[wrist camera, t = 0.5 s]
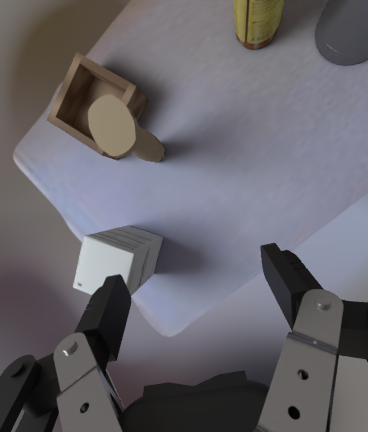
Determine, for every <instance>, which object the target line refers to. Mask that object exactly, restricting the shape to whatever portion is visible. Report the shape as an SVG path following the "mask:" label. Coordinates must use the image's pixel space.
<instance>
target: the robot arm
mask: <svg viewBox="0 0 368 432" xmlns="http://www.w3.org/2000/svg"><path fill="white" fill-rule="evenodd" d="M315 41H316V45H317V48H318V50H319V52H320V54H321V55H322V56H323V57H324V58H325V59H327V60H328V61H330V62H332V63H335V64H338V65H354V64H357V63H361V62H363V61H365V60H367V59H368V0H329V1H328V3H327V5H326V7H325V9H324V11H323V13H322V15H321V17H320V19H319V22H318V24H317V27H316V32H315ZM260 248H261V258H262V267H263V272H264V275H265V278H266V280H267V282H268V284H269V286H270V288H271V290H272V292H273V294H274V296H275V298H276V300H277V302H278V304H279V306H280V308H281V310H282V312H283V314H284V316H285V318H286V320H287V322H288V324H289V326H290V328H291V330H292V333H291V332H289V333H288V335H287V337H286V340H285V343H284V346H283V349H282V352H281V355H280V358H279V361H278V365H277V368H276V370H275V373H274V377H273V380H272V383H271V386H270V387H269V386H267V385H265V384H263V383H261V382H258V381H254V380H249V379H247V378H246V374H245V371H238V372H232V373H227V374H220V375H217V376H215V377H213V378H211V379H209V380H207V381H204V382H202V383H200V384H198V385H196V386H188V385H181V384H175V383H162V384H156V385H149V386H145V387H144V392H143V396H142V397H140V398H139V399H137V400H135V401H134V402H133V403H132V404H130V405H129V406H128V407H127V408H126V409H125V408H124V406H123V404H122V402H121V400H120V398H119V396H118V393H117V391H116V390H115V387H114V385H113V382H112V380H111V378H110V376H109V374H108V372H107V370H106V367H107V363H108V362H111V361H116V360H117V357H118V353H119V349H120V345H121V341H122V337H123V334H124V330H125V326H126V322H127V318H128V314H129V310H130V306H131V295H130V292H129V290H128V288H127V286H126V283H125V281H124V279H123V277H122V275H121V274H117V275H112V276H107V277H106V279H105V281H104V283H103V285H102V287H99V288H98V289H97V290H96V291H95V292H94V293H93V295H92V297H91V299H90V301H89V304H88V305H87V307H86V310H85V311H84V314H83V315H82V318H81V320H80V322H79V324H78V326H77V328H76V330H75V332H74V334H72V335H70V336H68V337H66V338H65V339H64V340H63V341H62V342H61V343H60V344H59V345H58V346H57V348H56V349H55V352H54V353H52V354H50V355H48V356H46V357H44V358H42V359H39V360H36V359H35V357H34V356H33V355H25V356H22V357H20V358H18V359H17V360H15V361H14V362H13V363H11V364H10V365H9V366H8V367H7V368H6V369H5V371H4V372H3V373H2V375H1V376H0V432H11V430H12V428H13V426H14V424H15V422H16V420H17V418H18V416H19V414H20V412H21V410H22V409H23V410H24V411H25V412H24V415H23V417H22V419H21V421H20V423H19V425H18V427H17V429H16V431H15V432H52V430H53V428H54V425H55V422H56V419H57V416H58V414H60V419H61V425H62V429H63V432H329V431H330V423H331V415H332V406H333V397H334V389H335V382H336V374H337V366H338V359H339V355H342V356H348V357H355V358H362V359H366V360H367V362H368V303H367V302H366V303H365V302H353V301H345V300H341V299H340V298H339V297H338V296H337V295H335V294H334V293H332V292H330V291H326V290H324V289H323V288H322V287H321V285H320V284H319V283H318V282H317V280H316V279H315V278H314V277H313V276H312V274H311V273H310V272H309V271H308V269H307V268H306V267H305V265H304V264H303V263H302V262H301V260H300V259H299V258H298V257H297V256H296V255H295V254H294V253H292V252H290V251H288V250H285V251H281V250H280V249H279V247H278V246H277V245H276V243H271V244H266V245H261V247H260Z"/></svg>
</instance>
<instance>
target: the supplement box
mask: <svg viewBox="0 0 368 432" xmlns="http://www.w3.org/2000/svg"><path fill="white" fill-rule="evenodd" d="M162 241H163V237H162V236H159V235H156V234H153V233H149V232H146V231H143V230H140V229H137V228H134V227H131V226H123V227H119V228H115V229H111V230H107V231H103V232H99V233H95V234H90V235H85V236H84V238H83V243H82V248H81V252H80V257H79V261H78V266H77V271H76V275H75V280H74V284H73V288H76V289H78V290H81V291H84V292H86V293H88V294H91V295H93V293H94V292H95V291H96V290H97V289H98V288H99V287H102V285H103V283H104V281H105V279H106V277H107V276H112V275H117V274H121V275H122V277H123V279H124V281H125V283H126V286H127V288H128V290H129V292H130V295H131V296H132V295H133V294H134V293H135V292H136V291H137V290H138V289H139V288H140V287H141V286H142V285H143V284H144V283H145V282H146V281H147V280H148V279H149V278H150V277H151V276H152V275H153V274H154V271H155V266H156V262H157V258H158V255H159V251H160V248H161V244H162Z"/></svg>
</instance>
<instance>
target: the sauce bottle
mask: <svg viewBox="0 0 368 432" xmlns="http://www.w3.org/2000/svg"><path fill="white" fill-rule="evenodd" d="M284 2H285V0H234V15H235V30H236V37H237V39H238V41H239V42H240V43H241V44H242V45H243V46H244V47H245V48H247V49H258V48H262V47H264V46H266V45H267V44H268V43H269V42H270V41H271V40H272V39H273V37H274V36H275V34H276V32H277V29H278V26H279V24H280V20H281V16H282V11H283V7H284Z"/></svg>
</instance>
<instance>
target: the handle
mask: <svg viewBox="0 0 368 432" xmlns="http://www.w3.org/2000/svg"><path fill="white" fill-rule="evenodd" d="M88 121H89V128H90V131H91V134H92V136H93V138H94V140H95V141H96V143H97V145H98V146H99V147H100V148H101V149H102V150H104V151H105V152H106V153H108V154H109V155H110V156H113V157H117V158H120V157H125V156H127V155H129V154H131V153H132V154H133V155H135V156H137V157H138V158H140V159H143V160H145V161H150V162H155V163H157V162H159V161H160V160H162V159H164V158H165V155H164V152H165V147H164V146H163V145H162V144H161V142H160V141H159V140H158V139H157V138H156V137H155V136H154V135H153V134H151V133H150V132H148V131H146V130H145V129H143V128H141V127H140V126H138V122H137V120H136V118H135V116H134V114H133V113H132V111H131V110H130V108H129V107H127V106H126V105H125V104H124V103H123V102H122V101H120V100H119V99H118V98H116V97H115V96H113V95H104V96H102V97H100V98H98V99H97V100H96V101H95V102H94V103H93V104H92V105H91V107H90V108H89V111H88Z"/></svg>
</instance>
